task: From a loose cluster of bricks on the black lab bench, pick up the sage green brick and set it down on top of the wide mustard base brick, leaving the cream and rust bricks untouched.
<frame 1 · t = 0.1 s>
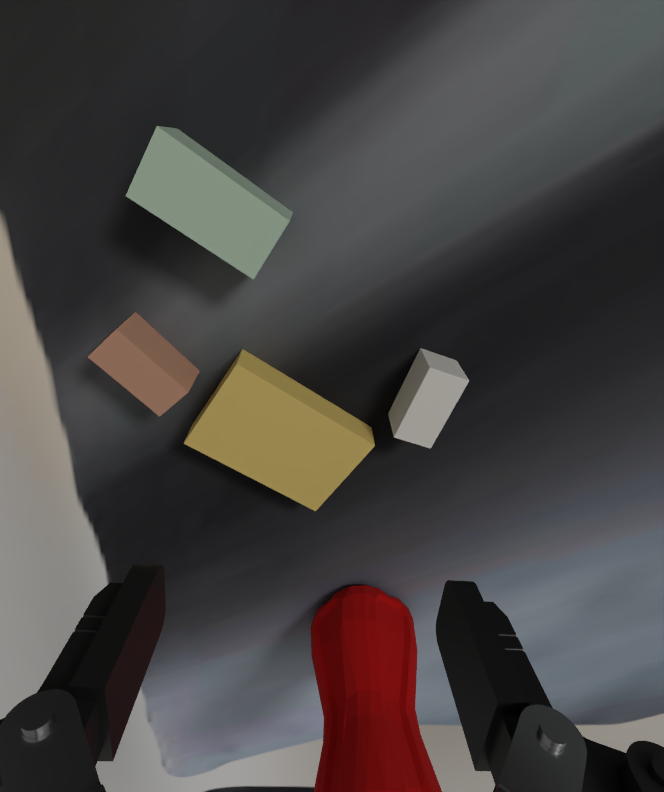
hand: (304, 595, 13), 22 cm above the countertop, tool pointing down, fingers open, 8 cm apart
mustard base brick: (282, 423, 37), on the countertop
water bottle: (366, 612, 48), on the countertop
sage brick: (222, 201, 29), on the countertop
cream brick: (420, 387, 35), on the countertop
rust brick: (155, 354, 33), on the countertop
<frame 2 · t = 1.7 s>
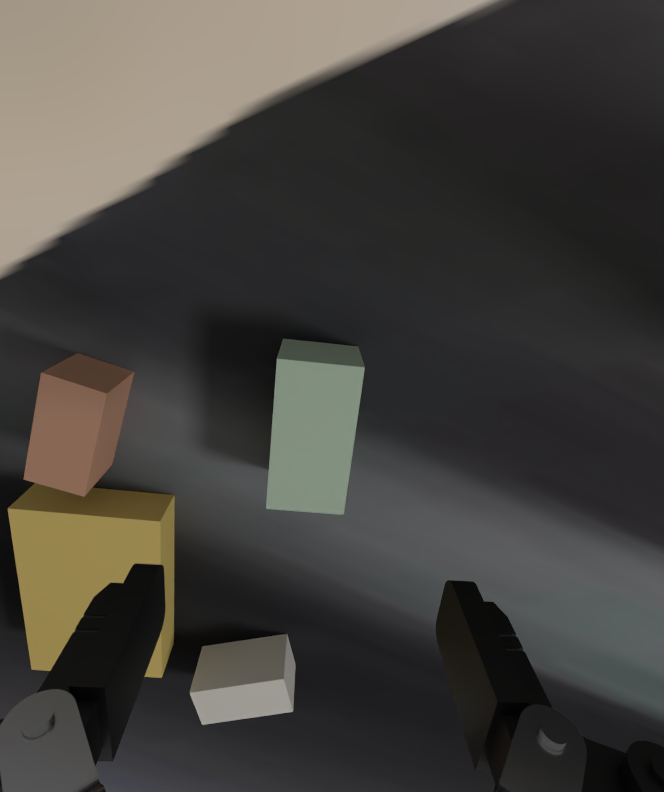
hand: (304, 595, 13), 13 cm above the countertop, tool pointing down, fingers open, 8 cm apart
mustard base brick: (113, 564, 29), on the countertop
sage brick: (313, 410, 26), on the countertop
cream brick: (249, 653, 32), on the countertop
rust brick: (96, 410, 25), on the countertop
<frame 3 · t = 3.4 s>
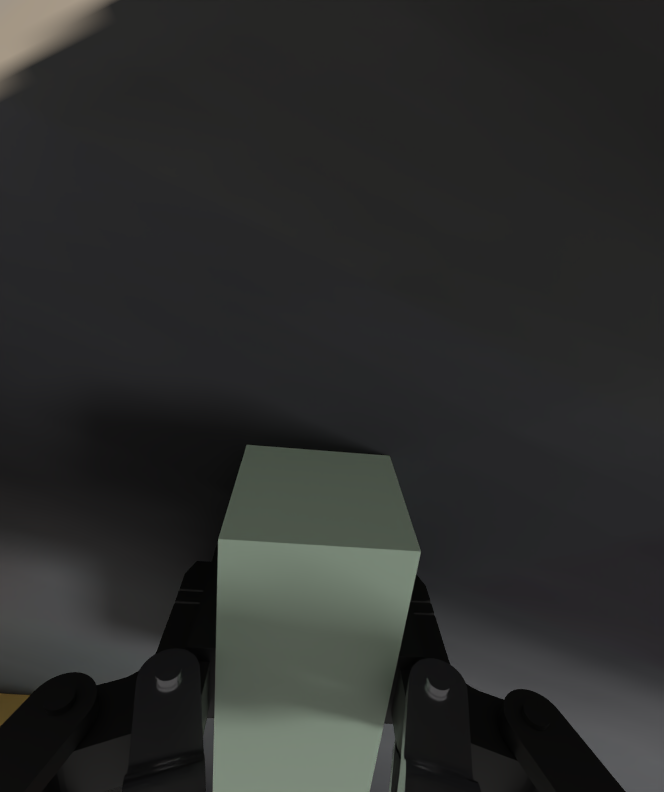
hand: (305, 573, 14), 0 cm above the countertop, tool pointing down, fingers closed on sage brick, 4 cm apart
sage brick: (306, 565, 14), on the countertop, touching gripper
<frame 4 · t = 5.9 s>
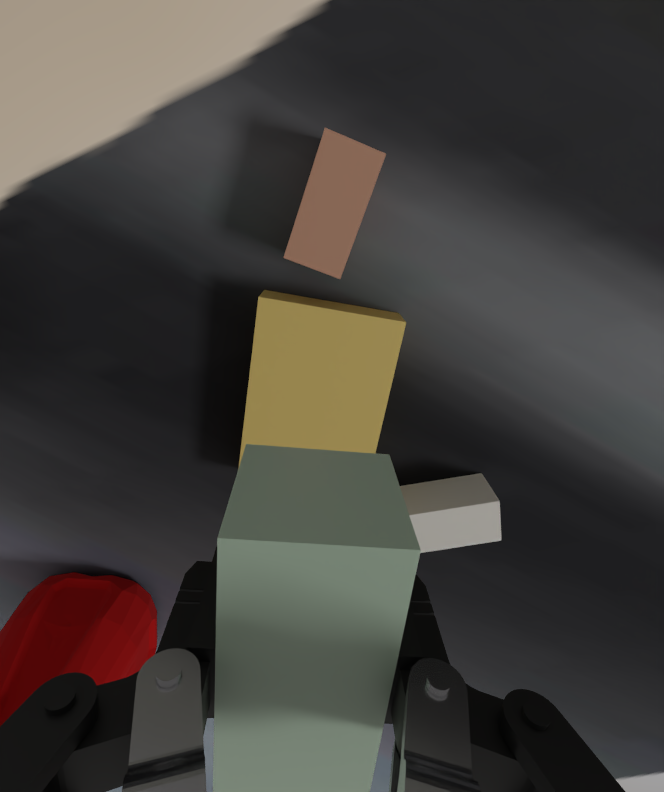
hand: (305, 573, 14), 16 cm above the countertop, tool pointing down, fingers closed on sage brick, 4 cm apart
mustard base brick: (315, 393, 29), on the countertop
water bottle: (102, 619, 35), on the countertop
sage brick: (306, 564, 14), point 16 cm above the countertop, touching gripper
cream brick: (439, 497, 32), on the countertop
rust brick: (331, 209, 25), on the countertop
when the fingers open (4 cm above the countertop, at t = 8.4 s): sage brick drops 1 cm, resting on mustard base brick.
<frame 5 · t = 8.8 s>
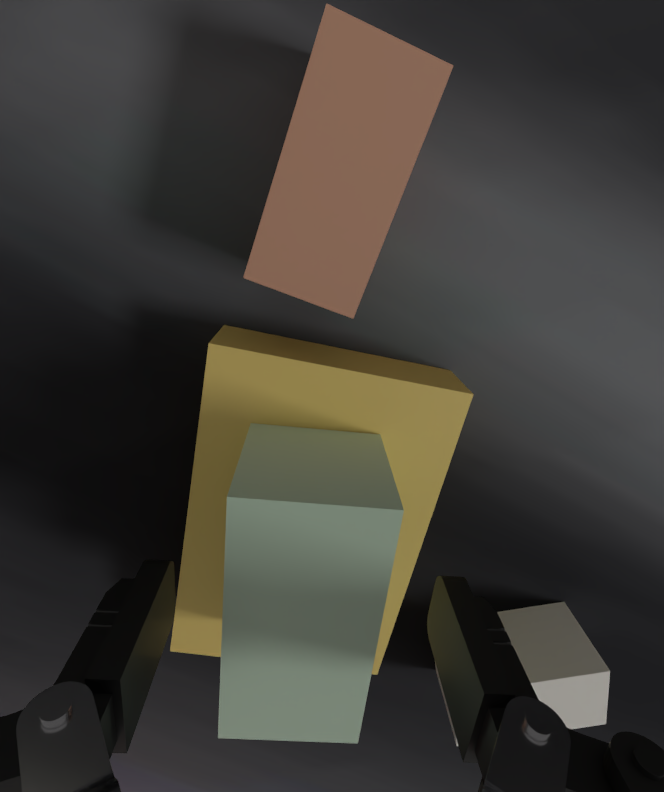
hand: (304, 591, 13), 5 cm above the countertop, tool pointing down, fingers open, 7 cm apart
mustard base brick: (306, 487, 18), on the countertop, touching sage brick
sage brick: (304, 536, 15), point 2 cm above the countertop, touching mustard base brick
cream brick: (496, 633, 21), on the countertop
rust brick: (334, 189, 14), on the countertop
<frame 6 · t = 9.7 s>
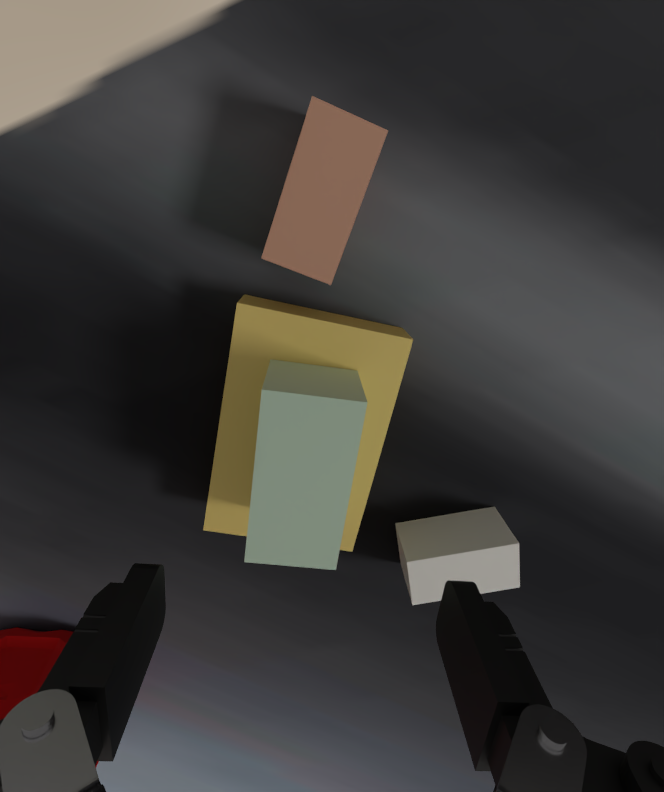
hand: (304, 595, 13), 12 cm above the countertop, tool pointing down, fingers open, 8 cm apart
mustard base brick: (301, 416, 25), on the countertop, touching sage brick
water bottle: (53, 678, 30), on the countertop
sage brick: (303, 442, 22), point 2 cm above the countertop, touching mustard base brick
cream brick: (445, 533, 28), on the countertop
rust brick: (319, 201, 21), on the countertop
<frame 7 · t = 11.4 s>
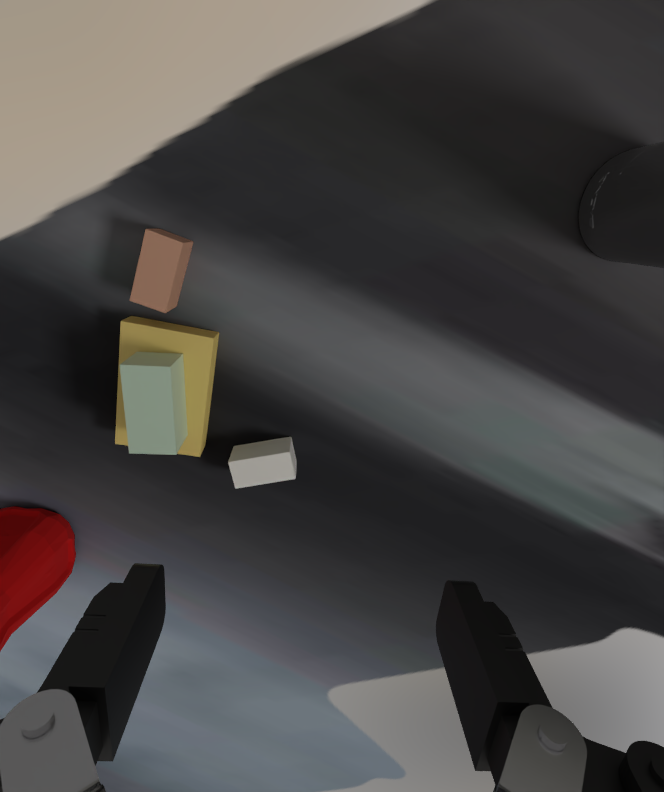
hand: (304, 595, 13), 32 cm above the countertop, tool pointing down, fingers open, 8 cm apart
mustard base brick: (171, 382, 45), on the countertop
water bottle: (37, 543, 50), on the countertop
sage brick: (163, 394, 42), point 2 cm above the countertop
cream brick: (265, 453, 47), on the countertop
rust brick: (168, 268, 40), on the countertop
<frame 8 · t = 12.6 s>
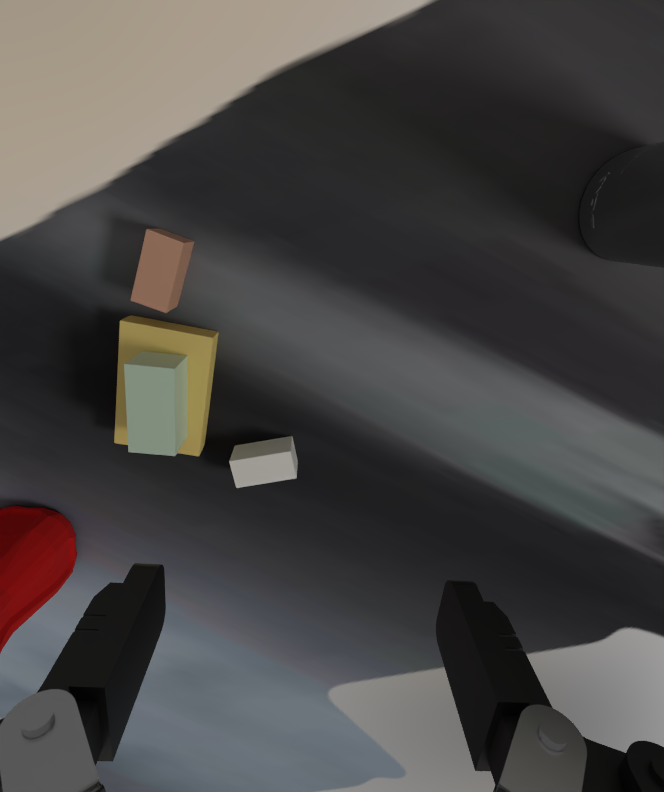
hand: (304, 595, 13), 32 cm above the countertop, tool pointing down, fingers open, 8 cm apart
mustard base brick: (171, 381, 45), on the countertop, touching sage brick
water bottle: (39, 542, 50), on the countertop
sage brick: (165, 395, 42), point 2 cm above the countertop, touching mustard base brick
cream brick: (266, 452, 47), on the countertop
rust brick: (169, 268, 40), on the countertop
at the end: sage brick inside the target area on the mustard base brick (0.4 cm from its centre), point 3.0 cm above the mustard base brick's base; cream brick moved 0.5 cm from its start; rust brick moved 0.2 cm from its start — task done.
